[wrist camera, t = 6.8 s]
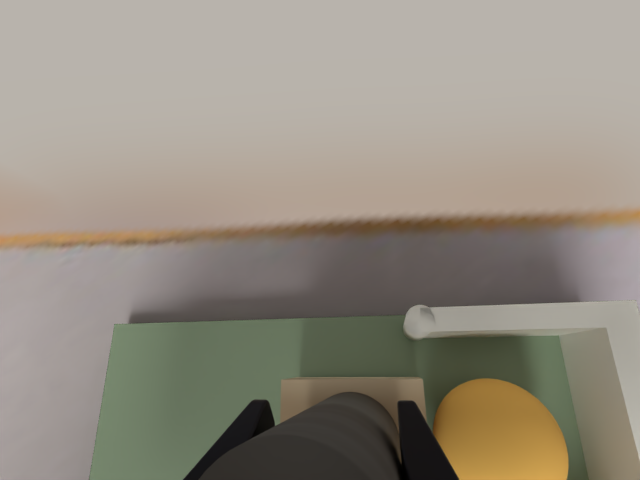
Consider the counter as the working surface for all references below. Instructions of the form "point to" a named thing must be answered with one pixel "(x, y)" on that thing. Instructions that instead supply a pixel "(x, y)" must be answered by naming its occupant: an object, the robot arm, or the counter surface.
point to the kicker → (327, 432)
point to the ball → (499, 433)
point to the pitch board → (283, 363)
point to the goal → (569, 365)
